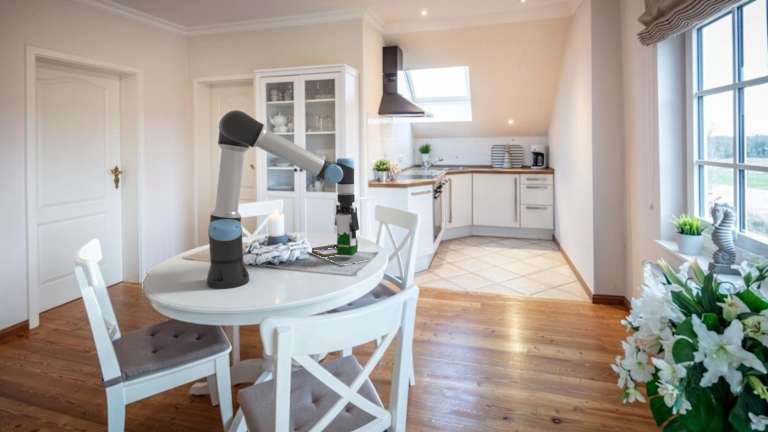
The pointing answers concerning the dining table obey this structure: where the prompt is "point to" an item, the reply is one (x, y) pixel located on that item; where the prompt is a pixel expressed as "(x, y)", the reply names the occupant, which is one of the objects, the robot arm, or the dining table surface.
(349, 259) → the grey mat
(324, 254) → the walnut collar
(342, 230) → the soya milk
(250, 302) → the dining table surface
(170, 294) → the dining table surface
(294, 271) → the dining table surface
